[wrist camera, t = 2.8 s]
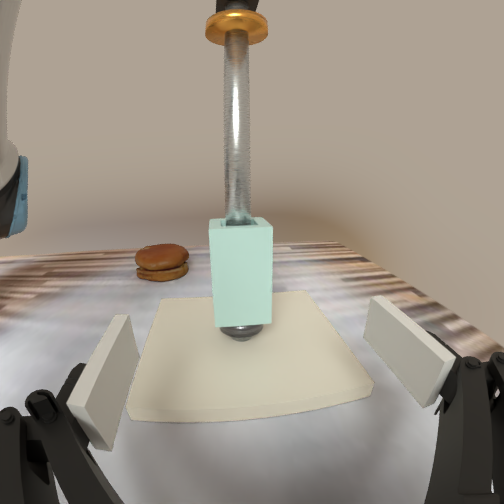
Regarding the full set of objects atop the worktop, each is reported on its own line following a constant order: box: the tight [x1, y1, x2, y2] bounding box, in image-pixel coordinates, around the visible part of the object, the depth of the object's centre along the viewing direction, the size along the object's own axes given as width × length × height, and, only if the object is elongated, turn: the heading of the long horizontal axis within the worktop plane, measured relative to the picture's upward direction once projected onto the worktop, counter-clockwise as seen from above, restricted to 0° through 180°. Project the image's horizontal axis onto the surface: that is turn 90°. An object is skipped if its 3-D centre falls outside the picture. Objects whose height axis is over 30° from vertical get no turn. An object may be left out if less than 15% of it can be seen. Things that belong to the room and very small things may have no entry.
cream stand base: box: [126, 290, 374, 423], centre depth 25 cm, size 18×18×2 cm
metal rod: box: [205, 0, 268, 342], centre depth 20 cm, size 5×5×34 cm
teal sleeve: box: [209, 217, 273, 327], centre depth 23 cm, size 5×5×8 cm
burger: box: [135, 244, 189, 281], centre depth 45 cm, size 10×9×5 cm
